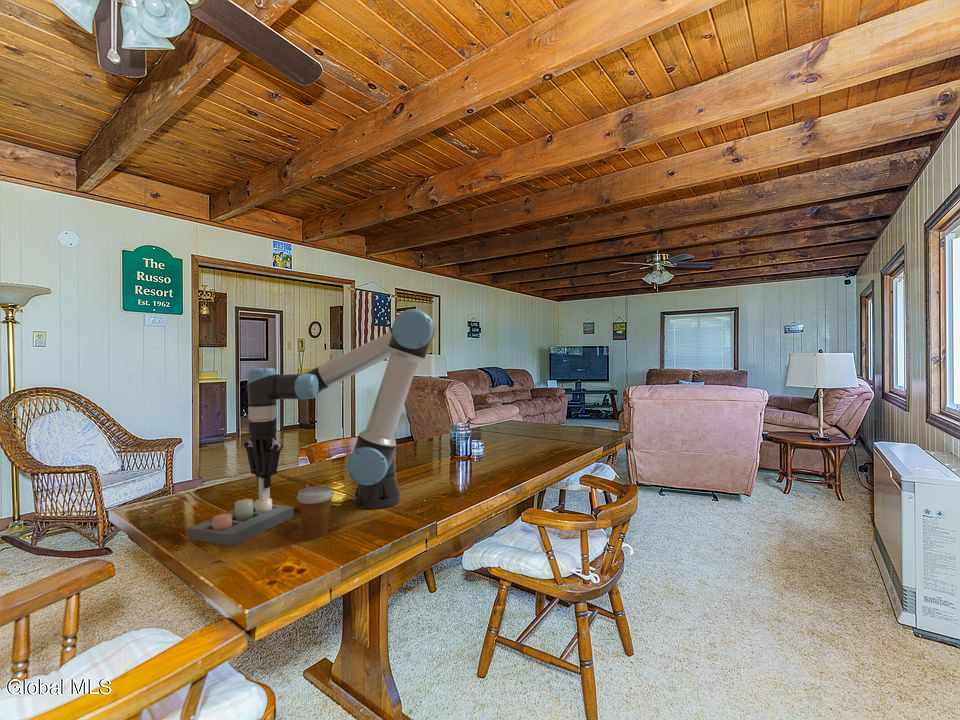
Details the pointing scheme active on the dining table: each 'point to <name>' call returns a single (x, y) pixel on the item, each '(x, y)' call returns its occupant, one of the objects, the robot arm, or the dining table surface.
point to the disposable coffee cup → (315, 510)
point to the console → (241, 526)
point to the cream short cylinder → (263, 505)
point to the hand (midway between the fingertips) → (264, 498)
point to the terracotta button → (222, 522)
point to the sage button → (243, 509)
